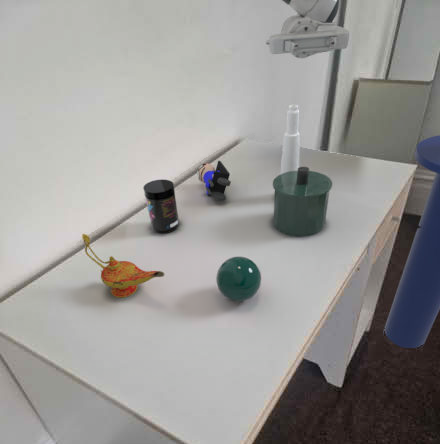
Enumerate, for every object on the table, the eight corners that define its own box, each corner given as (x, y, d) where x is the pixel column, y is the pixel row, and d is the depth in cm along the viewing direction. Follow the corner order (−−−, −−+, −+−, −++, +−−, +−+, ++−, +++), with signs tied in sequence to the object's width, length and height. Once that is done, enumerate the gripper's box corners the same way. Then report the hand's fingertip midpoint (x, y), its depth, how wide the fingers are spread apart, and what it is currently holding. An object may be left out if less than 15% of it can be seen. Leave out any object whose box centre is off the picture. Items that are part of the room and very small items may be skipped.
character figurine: (209, 208, 95) (198, 185, 106) (236, 202, 95) (222, 179, 107) (204, 180, 90) (192, 158, 101) (233, 173, 90) (218, 152, 101)
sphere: (236, 317, 64) (234, 281, 59) (209, 294, 69) (205, 259, 64) (270, 297, 68) (271, 262, 62) (242, 276, 73) (241, 242, 67)
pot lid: (300, 170, 87) (302, 152, 84) (344, 187, 79) (347, 168, 76) (260, 187, 82) (260, 169, 79) (303, 207, 74) (305, 187, 71)
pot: (297, 206, 92) (300, 169, 86) (334, 223, 85) (341, 184, 79) (263, 222, 87) (263, 184, 81) (299, 242, 80) (303, 202, 74)
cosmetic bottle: (297, 203, 93) (305, 109, 79) (274, 201, 95) (277, 109, 80) (301, 193, 97) (309, 101, 83) (278, 191, 99) (282, 101, 85)
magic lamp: (159, 315, 66) (147, 266, 59) (84, 289, 73) (65, 242, 65) (179, 292, 70) (171, 243, 63) (106, 270, 77) (91, 223, 70)
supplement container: (163, 217, 92) (156, 177, 86) (185, 223, 89) (179, 182, 83) (146, 230, 88) (136, 189, 81) (168, 237, 85) (160, 195, 78)
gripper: (265, 27, 99) (272, 34, 89) (341, 21, 99) (357, 27, 89) (264, 55, 103) (271, 64, 93) (337, 49, 103) (353, 58, 93)
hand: (314, 46), depth 91 cm, fingers open, 8 cm apart
